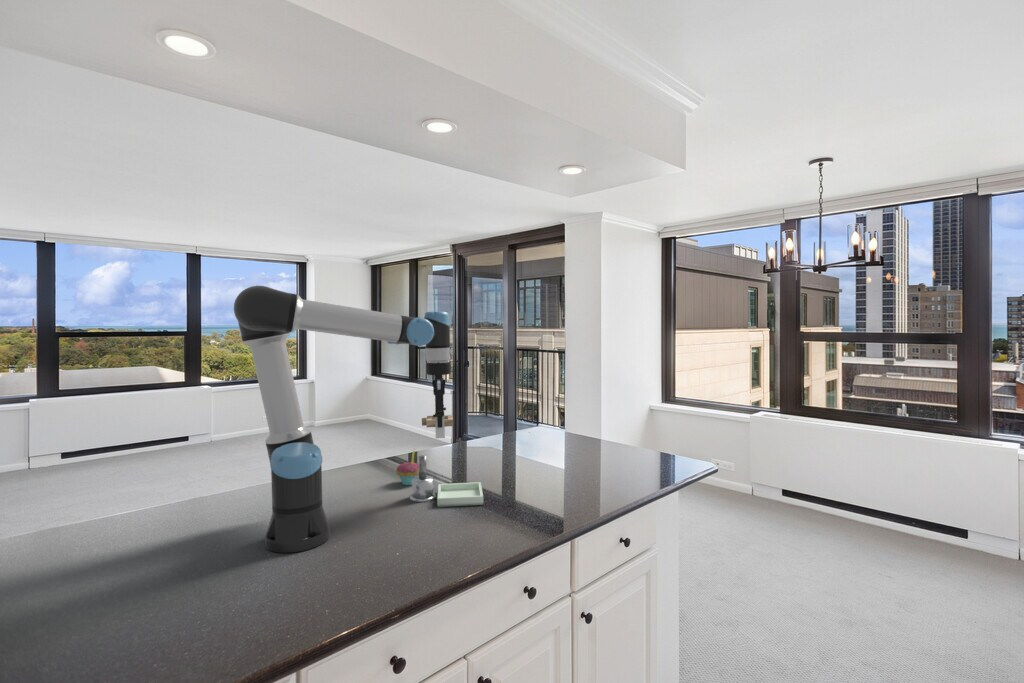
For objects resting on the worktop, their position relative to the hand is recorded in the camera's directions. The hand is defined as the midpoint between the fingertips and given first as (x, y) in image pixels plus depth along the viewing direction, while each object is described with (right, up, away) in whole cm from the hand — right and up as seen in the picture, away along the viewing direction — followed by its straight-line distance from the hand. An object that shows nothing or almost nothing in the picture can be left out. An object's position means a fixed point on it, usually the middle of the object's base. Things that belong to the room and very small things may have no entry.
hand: (440, 434), depth 157 cm
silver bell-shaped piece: (-5, -20, +1) cm, 21 cm away
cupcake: (-13, -20, +15) cm, 28 cm away
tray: (+6, -20, 0) cm, 21 cm away
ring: (0, +3, 0) cm, 3 cm away
